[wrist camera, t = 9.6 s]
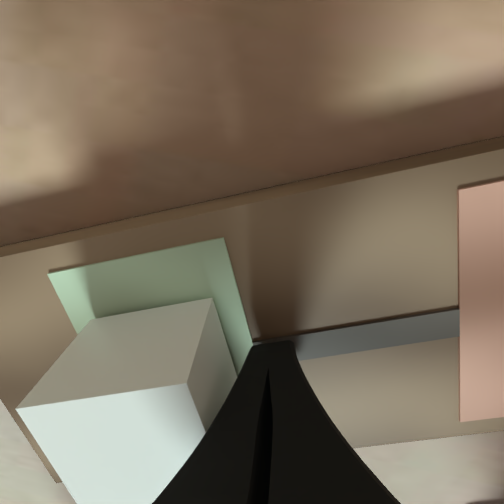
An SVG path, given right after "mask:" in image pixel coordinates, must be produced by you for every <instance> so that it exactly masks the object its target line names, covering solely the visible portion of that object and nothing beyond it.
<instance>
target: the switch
mask: <svg viewBox="0 0 504 504" xmlns="http://www.w3.org/2000/svg"><path fill="white" fill-rule="evenodd" d="M207 298H213V301H214V304H215V308H216V311H217V314H218V317H219V320H220V323H221V327H222V330H223V333H224V336H225V339H226V343H227V346H228V349H229V352H230V355H231V359H232V362H233V365H234V368H235V371H236V375H237V377H238V375H239V373H240V370H241V368H242V366H243V364H244V362H245V359H246V357H247V355H248V352H249V350H250V348H251V347H252V346H254V345H260V344H266V343H272V342H278V341H285V340H291V341H292V342H294V346H295V350H296V354H297V358H298V361H299V363H300V365H301V368H302V370H303V372H304V374H305V376H306V378H307V380H308V382H309V384H310V386H311V387H312V389H313V391H314V393H315V395H316V396H317V398H318V400H319V401H320V403H321V404H322V406H323V408H324V409H325V411H326V412H327V414H328V415H329V417H330V418H331V420H332V421H333V423H334V424H335V426H336V427H337V428H338V430H339V431H340V432H341V434H342V435H343V436H344V438H345V439H346V441H347V442H348V443H349V444H350V446H351V447H352V448H360V447H368V446H377V445H385V444H394V443H402V442H411V441H419V440H428V439H437V438H445V437H454V436H462V435H471V434H479V433H488V432H497V431H504V136H502V137H498V138H493V139H489V140H484V141H479V142H475V143H470V144H466V145H461V146H457V147H452V148H448V149H443V150H439V151H434V152H429V153H425V154H420V155H416V156H411V157H407V158H402V159H398V160H393V161H388V162H384V163H379V164H375V165H370V166H366V167H361V168H357V169H352V170H348V171H343V172H338V173H334V174H329V175H325V176H320V177H316V178H311V179H307V180H302V181H298V182H293V183H288V184H284V185H279V186H275V187H270V188H266V189H261V190H257V191H252V192H247V193H243V194H238V195H234V196H229V197H225V198H220V199H216V200H211V201H207V202H202V203H197V204H193V205H188V206H184V207H179V208H175V209H170V210H166V211H161V212H156V213H152V214H147V215H143V216H138V217H134V218H129V219H125V220H120V221H116V222H111V223H106V224H102V225H97V226H93V227H88V228H84V229H79V230H75V231H70V232H66V233H61V234H56V235H52V236H47V237H43V238H38V239H34V240H29V241H25V242H20V243H15V244H11V245H6V246H2V247H0V399H1V400H2V402H3V403H4V405H5V406H6V408H7V410H8V411H9V413H10V414H11V416H12V417H13V419H14V420H15V422H16V423H17V425H18V426H19V428H20V429H21V431H22V432H23V434H24V435H25V437H26V438H27V440H28V441H29V443H30V444H31V446H32V447H33V449H34V450H35V452H36V453H37V455H38V456H39V458H40V459H41V461H42V462H43V464H44V466H45V467H46V469H47V470H48V472H49V473H50V475H51V476H52V478H53V479H54V481H55V482H56V483H60V482H62V480H61V479H60V477H59V475H58V474H57V472H56V471H55V469H54V468H53V466H52V465H51V463H50V462H49V460H48V458H47V457H46V455H45V454H44V452H43V451H42V449H41V448H40V446H39V445H38V443H37V442H36V440H35V438H34V437H33V435H32V434H31V432H30V431H29V429H28V428H27V426H26V425H25V423H24V421H23V420H22V418H21V417H20V415H19V414H18V412H17V411H16V408H17V406H18V405H19V404H20V403H21V402H22V400H23V399H24V398H25V397H26V396H27V395H28V393H29V392H30V391H31V390H32V389H33V387H34V386H35V385H36V384H37V383H38V382H39V380H40V379H41V378H42V377H43V376H44V374H45V373H46V372H47V371H48V370H49V369H50V367H51V366H52V365H53V364H54V363H55V361H56V360H57V359H58V358H59V357H60V356H61V354H62V353H63V352H64V351H65V350H66V348H67V347H68V346H69V345H70V344H71V343H72V341H73V340H74V339H75V338H76V337H77V335H78V334H79V333H80V332H81V331H82V330H83V328H84V327H85V326H86V325H87V324H88V322H89V321H90V320H91V319H97V318H102V317H108V316H113V315H119V314H124V313H130V312H135V311H141V310H146V309H152V308H157V307H163V306H168V305H174V304H179V303H185V302H190V301H196V300H201V299H207Z"/></svg>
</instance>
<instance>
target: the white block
mask: <svg viewBox="0 0 504 504" xmlns="http://www.w3.org/2000/svg"><path fill="white" fill-rule="evenodd" d="M236 379H237V375H236V371H235V368H234V365H233V362H232V359H231V355H230V352H229V349H228V346H227V343H226V339H225V336H224V333H223V330H222V327H221V323H220V320H219V317H218V314H217V311H216V308H215V304H214V301H213V298H207V299H201V300H196V301H190V302H185V303H179V304H174V305H168V306H163V307H157V308H152V309H146V310H141V311H135V312H130V313H124V314H119V315H113V316H108V317H102V318H97V319H91V320H90V321H89V322H88V324H87V325H86V326H85V327H84V328H83V330H82V331H81V332H80V333H79V334H78V335H77V337H76V338H75V339H74V340H73V341H72V343H71V344H70V345H69V346H68V347H67V348H66V350H65V351H64V352H63V353H62V354H61V356H60V357H59V358H58V359H57V360H56V361H55V363H54V364H53V365H52V366H51V367H50V369H49V370H48V371H47V372H46V373H45V374H44V376H43V377H42V378H41V379H40V380H39V382H38V383H37V384H36V385H35V386H34V387H33V389H32V390H31V391H30V392H29V393H28V395H27V396H26V397H25V398H24V399H23V400H22V402H21V403H20V404H19V405H18V406H17V408H16V411H17V412H18V414H19V415H20V417H21V418H22V420H23V421H24V423H25V425H26V426H27V428H28V429H29V431H30V432H31V434H32V435H33V437H34V438H35V440H36V442H37V443H38V445H39V446H40V448H41V449H42V451H43V452H44V454H45V455H46V457H47V458H48V460H49V462H50V463H51V465H52V466H53V468H54V469H55V471H56V472H57V474H58V475H59V477H60V479H61V480H62V482H63V483H64V485H65V486H66V488H67V489H68V491H69V492H70V494H71V495H72V497H73V499H74V500H75V502H76V503H77V504H152V503H153V502H154V501H155V499H156V498H157V497H158V496H159V495H160V494H161V492H162V491H163V490H164V489H165V487H166V486H167V485H168V484H169V483H170V481H171V480H172V479H173V477H174V476H175V475H176V474H177V472H178V471H179V470H180V468H181V467H182V466H183V465H184V463H185V462H186V461H187V459H188V458H189V457H190V455H191V454H192V452H193V451H194V449H195V448H196V447H197V445H198V444H199V442H200V441H201V439H202V438H203V436H204V435H205V433H206V432H207V430H208V429H209V427H210V425H211V424H212V422H213V420H214V419H215V417H216V415H217V414H218V412H219V410H220V409H221V407H222V405H223V404H224V402H225V400H226V398H227V396H228V394H229V392H230V390H231V388H232V387H233V385H234V383H235V381H236Z"/></svg>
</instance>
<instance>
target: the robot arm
mask: <svg viewBox="0 0 504 504" xmlns="http://www.w3.org/2000/svg"><path fill="white" fill-rule="evenodd" d="M152 504H401V503H400V502H399V501H398V500H397V499H396V498H395V497H394V496H393V495H392V494H391V493H390V492H389V490H388V489H387V488H386V487H385V486H384V485H383V484H382V482H381V481H380V480H379V479H378V478H377V477H376V476H375V475H374V473H373V472H372V471H371V470H370V469H369V468H368V467H367V465H366V464H365V463H364V462H363V461H362V460H361V458H360V457H359V456H358V455H357V453H356V452H355V451H354V450H353V448H352V447H351V446H350V444H349V443H348V442H347V441H346V439H345V438H344V436H343V435H342V434H341V432H340V431H339V430H338V428H337V427H336V426H335V424H334V423H333V421H332V420H331V418H330V417H329V415H328V414H327V412H326V411H325V409H324V408H323V406H322V404H321V403H320V401H319V400H318V398H317V396H316V395H315V393H314V391H313V389H312V387H311V386H310V384H309V382H308V380H307V378H306V376H305V374H304V372H303V370H302V368H301V365H300V363H299V361H298V358H297V354H296V350H295V346H294V342H292V341H291V340H285V341H278V342H272V343H266V344H260V345H254V346H252V347H251V348H250V350H249V352H248V355H247V357H246V359H245V362H244V364H243V366H242V368H241V370H240V373H239V375H238V377H237V379H236V381H235V383H234V385H233V387H232V388H231V390H230V392H229V394H228V396H227V398H226V400H225V402H224V404H223V405H222V407H221V409H220V410H219V412H218V414H217V415H216V417H215V419H214V420H213V422H212V424H211V425H210V427H209V429H208V430H207V432H206V433H205V435H204V436H203V438H202V439H201V441H200V442H199V444H198V445H197V447H196V448H195V449H194V451H193V452H192V454H191V455H190V457H189V458H188V459H187V461H186V462H185V463H184V465H183V466H182V467H181V468H180V470H179V471H178V472H177V474H176V475H175V476H174V477H173V479H172V480H171V481H170V483H169V484H168V485H167V486H166V487H165V489H164V490H163V491H162V492H161V494H160V495H159V496H158V497H157V498H156V499H155V501H154V502H153V503H152Z"/></svg>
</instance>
